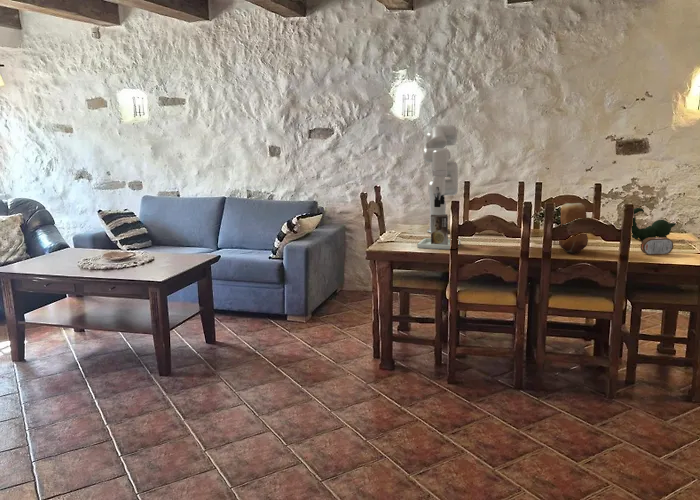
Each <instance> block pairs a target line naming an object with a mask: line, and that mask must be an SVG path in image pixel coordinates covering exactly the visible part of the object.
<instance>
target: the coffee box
mask: <svg viewBox="0 0 700 500" xmlns="http://www.w3.org/2000/svg"><path fill="white" fill-rule="evenodd" d="M448 221H449V216H448V214H447V213H446V214H438V215H431V233H430V239H431V244H438V245H448V239H449V235H448V234H449V229H448V228H449V226H448V223H449V222H448Z"/></svg>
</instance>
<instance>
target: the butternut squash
mask: <svg viewBox="0 0 700 500" xmlns="http://www.w3.org/2000/svg"><path fill="white" fill-rule="evenodd" d="M587 216H588V215H587V209H586V205H584V204H583V203H581V202H576V203H575V202H574V203H570V202H568V203H567V202H566V203H564V204H562V205H561V207H560V218H559V219H560V223H561V225H560V226H562V224H566V223H568V222H571V221H573V220H575V219H578V218H587ZM588 243H589V236H588V234H587V233H586V234H580V235H577V236H572V237H570V238H568V239H566V240H559V239H558V244H559V247H560V248H561V249H562V250H564V251H565V252H566V253H571V254H578V253H580V252H582V251H583V250H584V249H585V248H586V247H587V245H588Z"/></svg>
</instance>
